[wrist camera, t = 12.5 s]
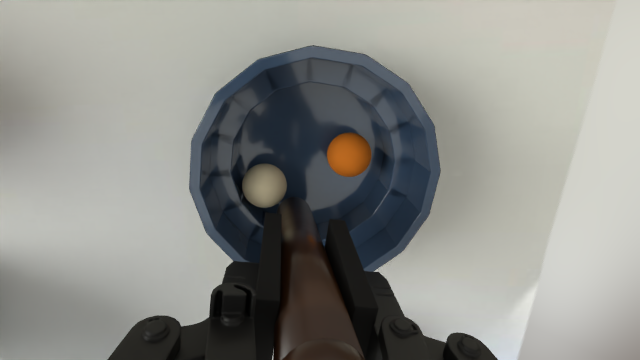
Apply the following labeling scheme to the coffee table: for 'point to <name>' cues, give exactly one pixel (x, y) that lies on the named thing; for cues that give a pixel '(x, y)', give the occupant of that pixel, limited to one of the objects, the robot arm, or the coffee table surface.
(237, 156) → the bowl
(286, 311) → the stick
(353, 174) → the ball
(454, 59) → the coffee table surface
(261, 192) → the ball
